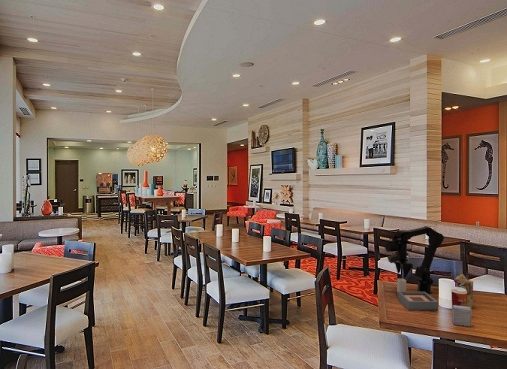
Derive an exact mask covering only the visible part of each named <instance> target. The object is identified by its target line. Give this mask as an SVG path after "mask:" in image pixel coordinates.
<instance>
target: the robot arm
mask: <svg viewBox="0 0 507 369" xmlns="http://www.w3.org/2000/svg"><path fill="white" fill-rule="evenodd" d="M423 235H426V236H427V237H428V240H427V241H428V246H427V248H426V251H425V255H424V258H423V260H422V262H421V265H420V266H416V268H415V271H414V276H415V278H416V281H418V283H417V290H416V291H417V292H426V293H427V294H432V293H433V292H432V291H431V290H432V289H431V287H432V286H431V285H433V284H434V280H433V279H432V278H431V269H430V268H431V265H432V263H433V260H434V257H435V255H436V252H437V249H438V247H440V246H441V245H442V244H443V242H444V239H445V236H444V235H443V234H442V233H440V232H438V231H437V230H435V229H434V228H432V227H431V226H427V225H426V226H423V227H417V228H414V229H409V230H406V229H398V230H396V232H395V234H394V236H393V237H392V239H391V240H387V241H386V243H385V245H384V249H385V251H386V252H387V253H390V252H394V253H395V254H394V253H393V254H390V255H388V256H387V261H388V262H389V263H390V264H394V265H395V269H396V272H397V273H398V274H400V272H401V270H402V274H403V275H402V276H403V279H406V278H407V276H408V274H409V273H410V271H412V269H414V264H413V263H412V262H410V261H409V259H408V256H409V253H408V245H409V244H411V241H409V240H411V238H413V237H418V236H419V237H420V236H423Z"/></svg>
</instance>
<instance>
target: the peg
mask: <svg viewBox="0 0 507 369" xmlns="http://www.w3.org/2000/svg"><path fill="white" fill-rule="evenodd" d="M396 280H397V281H396V282H397V285H396V286H397V287H396V288H397V289H396V292H397V294H398V291H405V292H407V280H406V278H397V279H396Z"/></svg>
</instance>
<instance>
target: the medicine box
mask: <svg viewBox="0 0 507 369" xmlns="http://www.w3.org/2000/svg"><path fill="white" fill-rule="evenodd" d="M472 311H473V310H472V308H469V307H465V306H456V305H452V304H451V323H452V324H453V325H454V324H455V326H462V325H464V327H472V313H473V312H472Z"/></svg>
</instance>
